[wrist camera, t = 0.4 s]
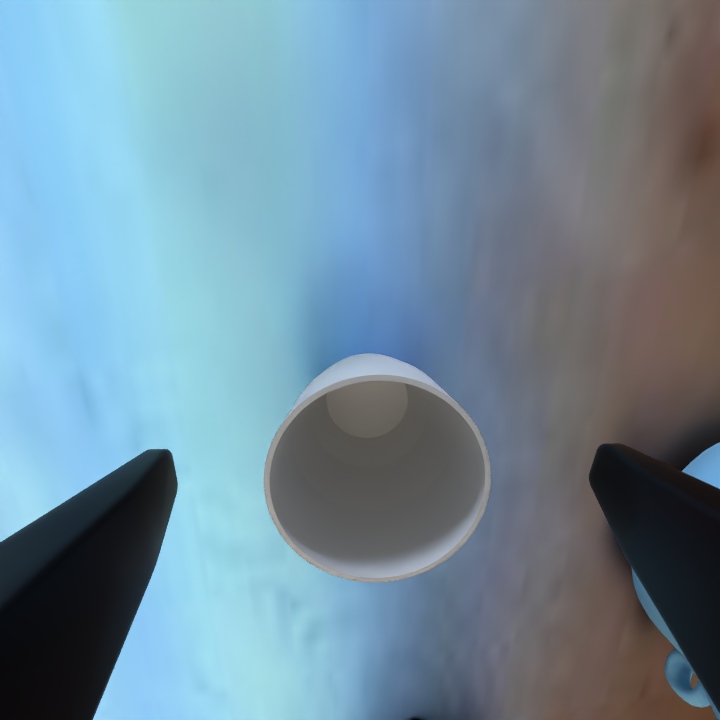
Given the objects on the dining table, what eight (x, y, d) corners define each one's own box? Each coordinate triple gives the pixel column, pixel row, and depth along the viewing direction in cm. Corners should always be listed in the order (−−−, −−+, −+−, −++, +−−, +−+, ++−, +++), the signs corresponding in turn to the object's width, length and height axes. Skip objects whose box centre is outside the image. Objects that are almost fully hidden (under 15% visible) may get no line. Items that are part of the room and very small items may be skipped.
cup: (420, 470, 26) (465, 594, 16) (289, 453, 25) (252, 569, 15) (446, 342, 24) (513, 393, 14) (306, 321, 24) (277, 358, 14)
